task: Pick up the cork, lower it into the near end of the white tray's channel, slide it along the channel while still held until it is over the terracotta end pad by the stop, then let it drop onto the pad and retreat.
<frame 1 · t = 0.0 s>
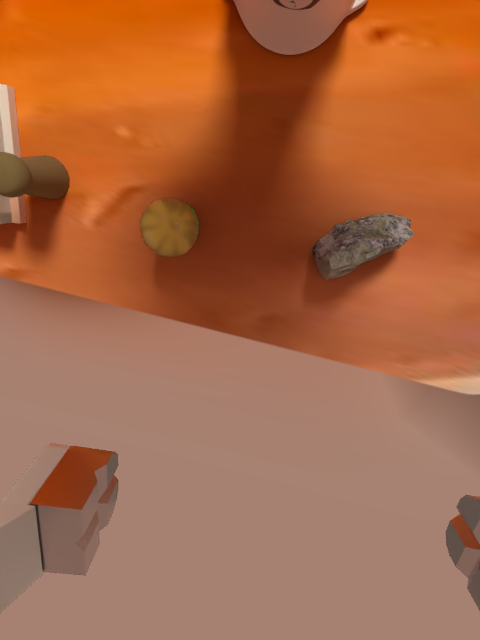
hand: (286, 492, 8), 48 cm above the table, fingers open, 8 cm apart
hamburger: (181, 223, 53), on the table
cork: (49, 178, 51), on the table
mineral rock: (354, 245, 53), on the table
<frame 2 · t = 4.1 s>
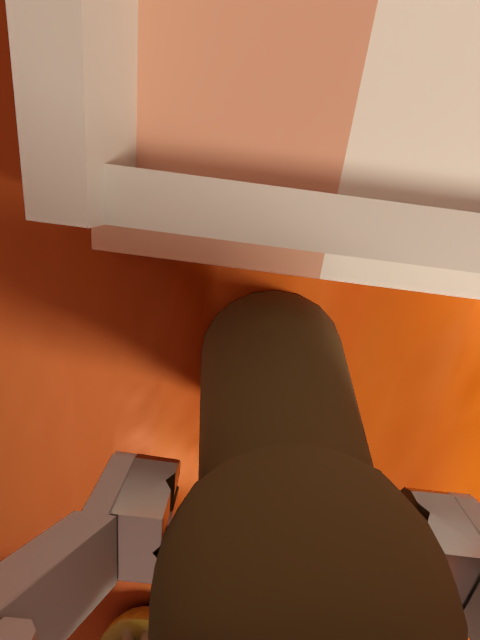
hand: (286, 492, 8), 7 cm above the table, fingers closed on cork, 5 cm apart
hamburger: (161, 625, 22), on the table
white tray: (386, 59, 11), on the table
cork: (270, 355, 15), on the table, touching gripper
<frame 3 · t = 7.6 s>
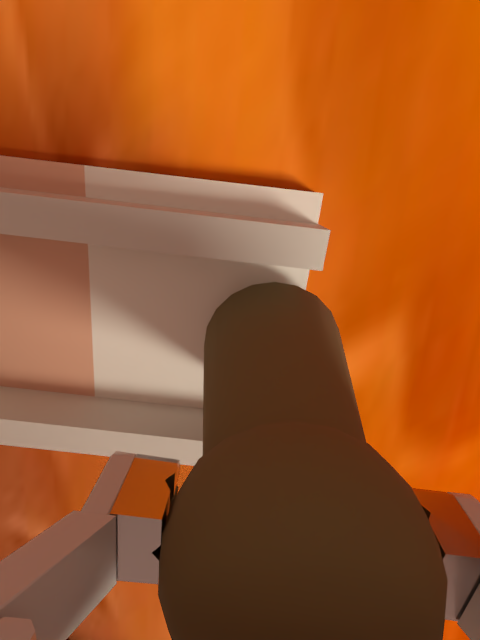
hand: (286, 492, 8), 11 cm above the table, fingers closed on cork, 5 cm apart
white tray: (122, 314, 18), on the table
cork: (271, 345, 15), point 3 cm above the table, touching gripper
when the fingers open (10 cm above the table, at t = 10.8 s): cork stays where it is, resting on white tray.
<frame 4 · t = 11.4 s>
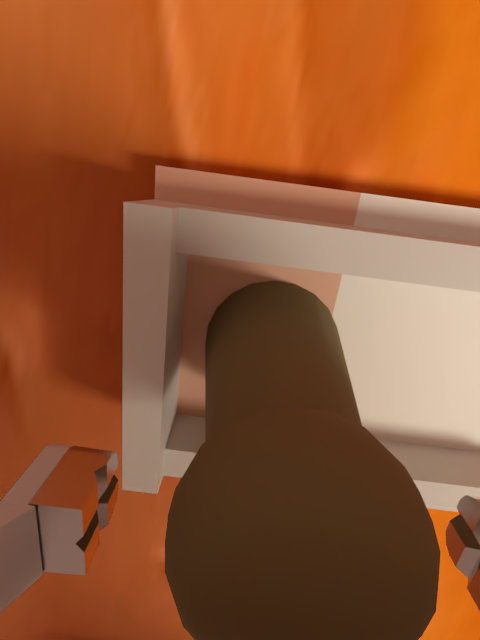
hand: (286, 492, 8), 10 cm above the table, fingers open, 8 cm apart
white tray: (337, 343, 17), on the table
cork: (271, 343, 16), point 1 cm above the table, touching white tray
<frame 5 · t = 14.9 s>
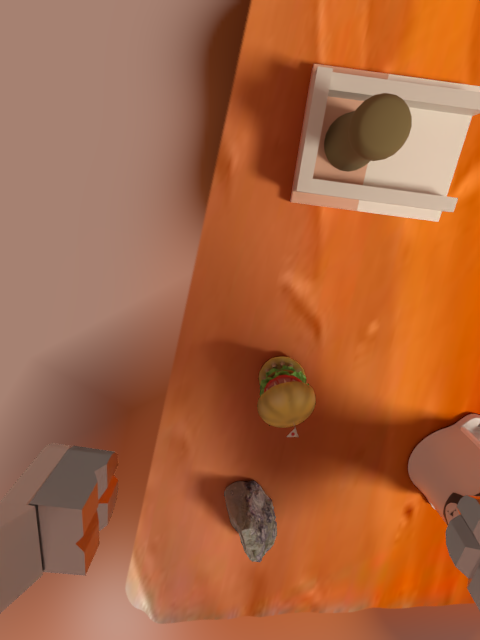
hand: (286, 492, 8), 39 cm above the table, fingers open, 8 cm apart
hamburger: (281, 372, 51), on the table
white tray: (376, 149, 40), on the table
cork: (350, 142, 39), point 1 cm above the table, touching white tray
mineral rock: (250, 505, 61), on the table
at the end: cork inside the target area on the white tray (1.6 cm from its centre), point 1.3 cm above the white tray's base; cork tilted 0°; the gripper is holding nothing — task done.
